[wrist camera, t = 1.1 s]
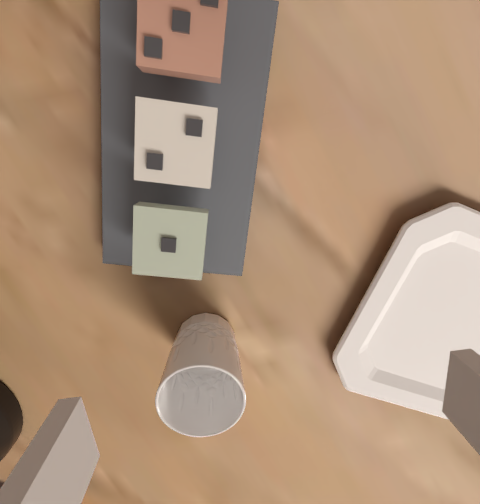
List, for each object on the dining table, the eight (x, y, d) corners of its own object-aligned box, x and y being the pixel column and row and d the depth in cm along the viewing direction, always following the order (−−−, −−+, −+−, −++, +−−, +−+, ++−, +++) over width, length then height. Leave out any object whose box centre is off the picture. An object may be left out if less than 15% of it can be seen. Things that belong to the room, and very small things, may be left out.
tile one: (137, 266, 29) (131, 275, 26) (139, 201, 27) (132, 205, 25) (202, 272, 29) (201, 281, 27) (208, 209, 27) (207, 214, 25)
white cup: (170, 308, 35) (151, 366, 25) (239, 306, 35) (247, 363, 26) (174, 366, 37) (158, 439, 28) (239, 364, 38) (245, 435, 28)
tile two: (140, 178, 26) (132, 180, 24) (142, 100, 24) (134, 95, 22) (210, 186, 27) (209, 189, 25) (217, 111, 25) (217, 107, 23)
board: (109, 256, 33) (102, 263, 31) (108, -17, 25) (99, -31, 24) (240, 268, 34) (242, 275, 32) (274, 12, 27) (278, 1, 25)
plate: (412, 185, 33) (426, 188, 30) (588, 261, 37) (610, 267, 35) (313, 371, 39) (318, 383, 37) (471, 417, 43) (484, 431, 41)
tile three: (142, 72, 24) (134, 64, 22) (145, -23, 22) (136, -42, 20) (220, 83, 24) (220, 77, 22) (228, -8, 23) (229, -25, 20)
